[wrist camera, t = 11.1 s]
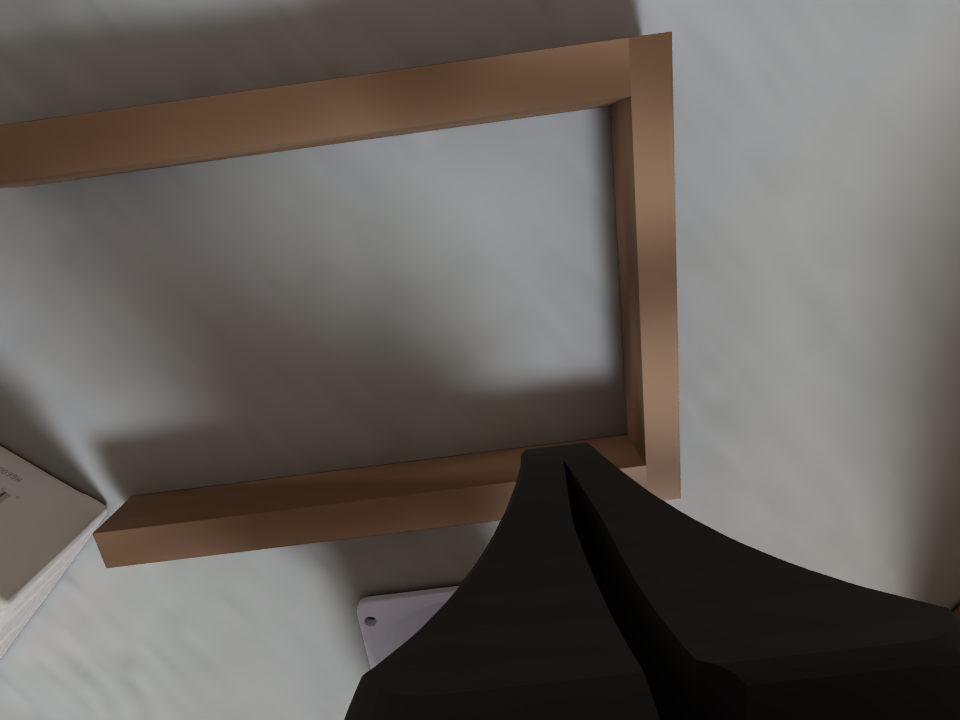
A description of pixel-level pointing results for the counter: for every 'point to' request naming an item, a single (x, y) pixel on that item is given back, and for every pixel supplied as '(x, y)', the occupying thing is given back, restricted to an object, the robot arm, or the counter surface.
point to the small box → (36, 538)
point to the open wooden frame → (381, 113)
